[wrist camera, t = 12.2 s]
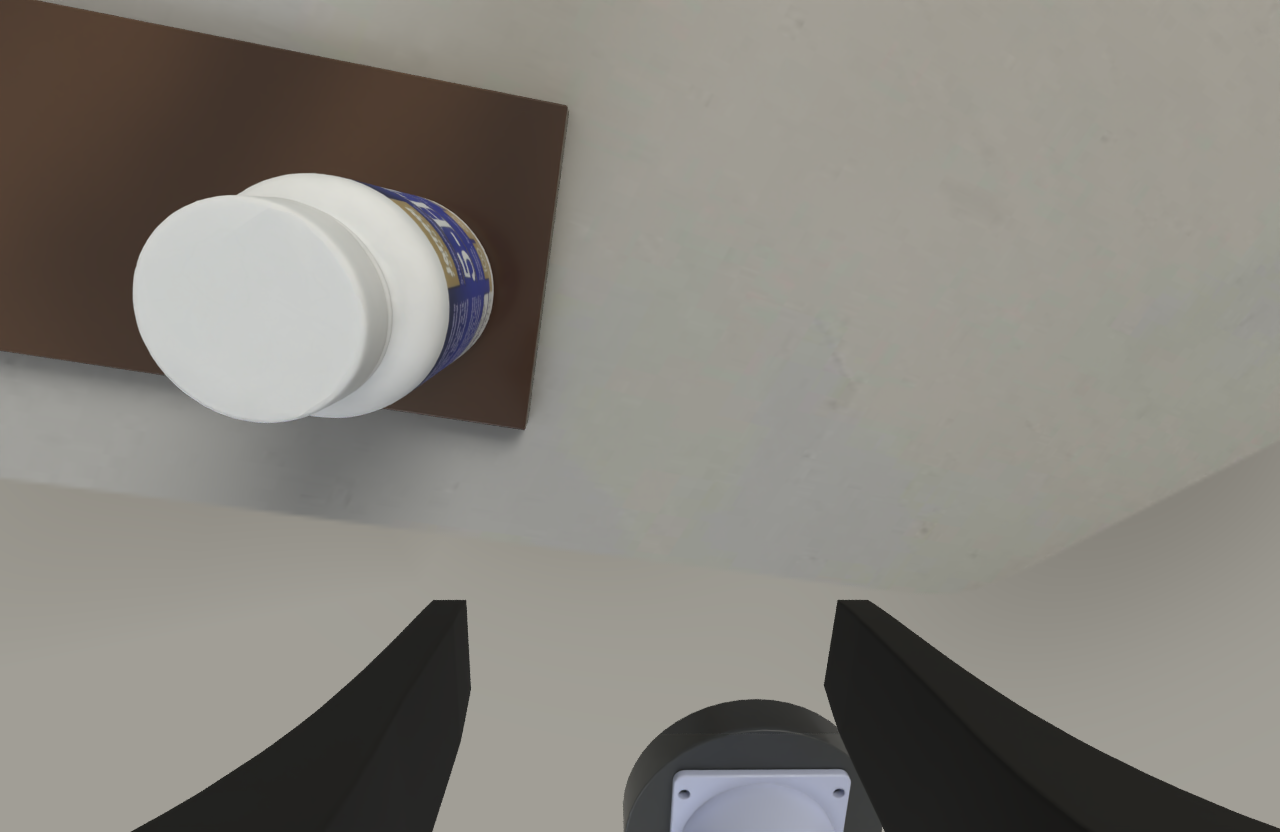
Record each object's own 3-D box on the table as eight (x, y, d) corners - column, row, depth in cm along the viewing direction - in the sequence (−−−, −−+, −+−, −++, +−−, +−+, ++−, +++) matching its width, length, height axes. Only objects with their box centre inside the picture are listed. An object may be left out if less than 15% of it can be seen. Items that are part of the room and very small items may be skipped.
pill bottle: (526, 254, 19) (460, 265, 11) (448, 397, 20) (332, 509, 12) (365, 157, 18) (154, 86, 10) (293, 312, 20) (46, 368, 11)
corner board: (569, 110, 19) (567, 105, 18) (527, 423, 22) (524, 430, 21) (-155, -33, 17) (-191, -46, 17) (-108, 327, 20) (-137, 330, 19)
